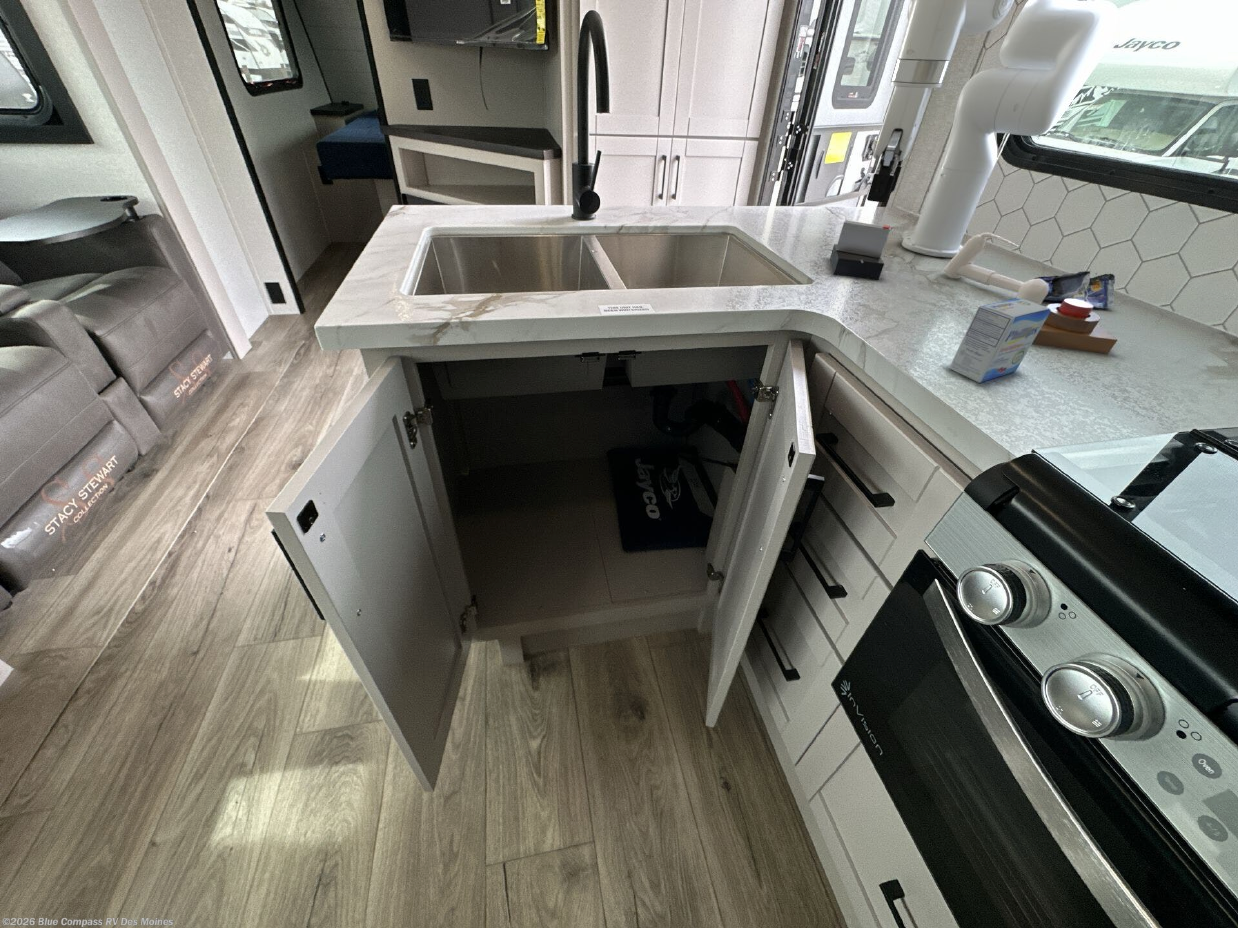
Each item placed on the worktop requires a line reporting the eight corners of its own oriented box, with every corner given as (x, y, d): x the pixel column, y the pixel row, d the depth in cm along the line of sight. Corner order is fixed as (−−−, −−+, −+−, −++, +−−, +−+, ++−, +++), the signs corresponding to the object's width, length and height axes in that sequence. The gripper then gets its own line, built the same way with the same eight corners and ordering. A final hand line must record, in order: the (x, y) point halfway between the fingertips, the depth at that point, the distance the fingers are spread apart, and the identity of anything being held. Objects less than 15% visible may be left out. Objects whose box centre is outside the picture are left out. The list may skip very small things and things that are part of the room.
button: (1052, 308, 76) (1059, 297, 75) (1079, 312, 76) (1087, 300, 74) (1063, 317, 73) (1070, 305, 72) (1091, 321, 73) (1098, 309, 72)
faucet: (1006, 331, 90) (1056, 284, 82) (939, 268, 98) (977, 220, 90) (1021, 328, 91) (1070, 281, 83) (953, 266, 99) (992, 218, 91)
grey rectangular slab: (835, 250, 98) (844, 220, 94) (837, 248, 99) (846, 218, 96) (879, 258, 95) (890, 228, 91) (881, 255, 96) (891, 226, 93)
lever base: (818, 256, 104) (822, 240, 102) (881, 264, 102) (887, 247, 100) (822, 275, 95) (827, 257, 93) (891, 283, 93) (898, 266, 91)
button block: (1011, 323, 81) (1025, 298, 78) (1082, 332, 79) (1098, 306, 77) (1030, 344, 74) (1046, 317, 72) (1107, 354, 73) (1126, 327, 70)
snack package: (1086, 320, 83) (1119, 306, 88) (1103, 279, 80) (1136, 267, 85) (1007, 306, 93) (1041, 295, 97) (1019, 269, 89) (1053, 259, 94)
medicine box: (978, 384, 64) (1015, 318, 58) (946, 368, 67) (978, 304, 61) (1015, 373, 67) (1054, 308, 62) (983, 358, 70) (1017, 295, 65)
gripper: (899, 72, 87) (866, 185, 98) (885, 75, 75) (849, 202, 86) (947, 74, 84) (908, 190, 95) (941, 78, 73) (897, 209, 84)
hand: (880, 196), depth 91 cm, fingers open, 9 cm apart
